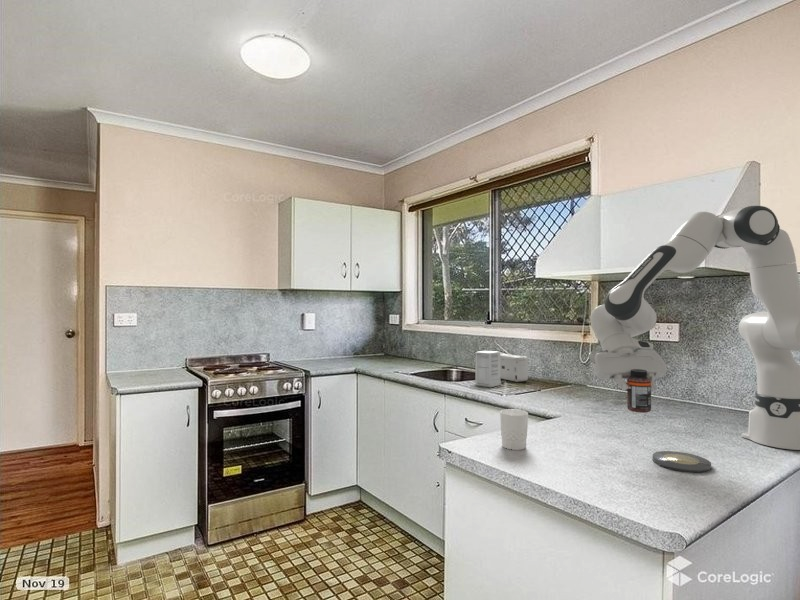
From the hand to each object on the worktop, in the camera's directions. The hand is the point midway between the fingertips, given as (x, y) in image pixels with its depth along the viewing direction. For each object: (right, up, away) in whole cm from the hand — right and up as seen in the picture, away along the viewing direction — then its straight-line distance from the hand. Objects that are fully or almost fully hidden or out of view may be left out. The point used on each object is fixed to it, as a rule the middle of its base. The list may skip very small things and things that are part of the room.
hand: (640, 389), depth 130 cm
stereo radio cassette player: (-8, -18, +123) cm, 124 cm away
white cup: (-34, -18, +6) cm, 38 cm away
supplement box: (-23, -18, +105) cm, 109 cm away
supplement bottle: (0, -6, +1) cm, 6 cm away
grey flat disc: (+6, -18, -8) cm, 21 cm away
